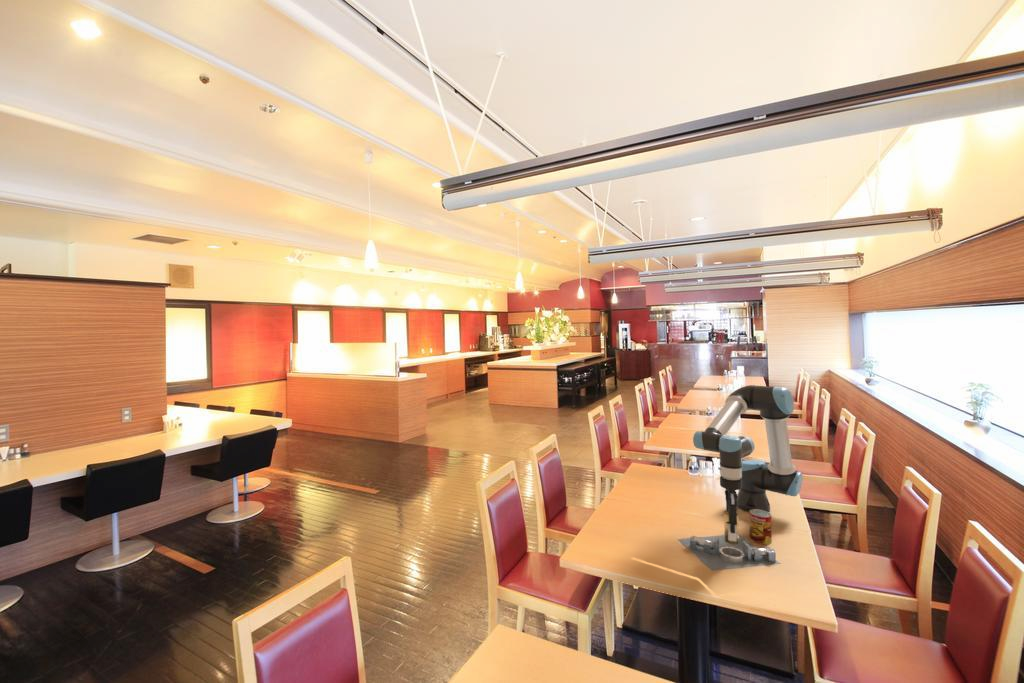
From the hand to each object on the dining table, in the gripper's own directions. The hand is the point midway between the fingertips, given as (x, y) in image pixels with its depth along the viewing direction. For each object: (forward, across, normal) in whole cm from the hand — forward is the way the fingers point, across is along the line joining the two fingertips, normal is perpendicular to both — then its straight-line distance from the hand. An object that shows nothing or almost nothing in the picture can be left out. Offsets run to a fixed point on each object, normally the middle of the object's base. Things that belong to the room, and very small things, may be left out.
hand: (731, 537), depth 160 cm
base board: (+9, -5, -2) cm, 10 cm away
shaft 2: (+8, -3, +10) cm, 13 cm away
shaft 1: (+8, -3, -10) cm, 13 cm away
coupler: (+2, 0, 0) cm, 2 cm away
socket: (+8, 0, 0) cm, 8 cm away
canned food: (+9, -20, +13) cm, 25 cm away
